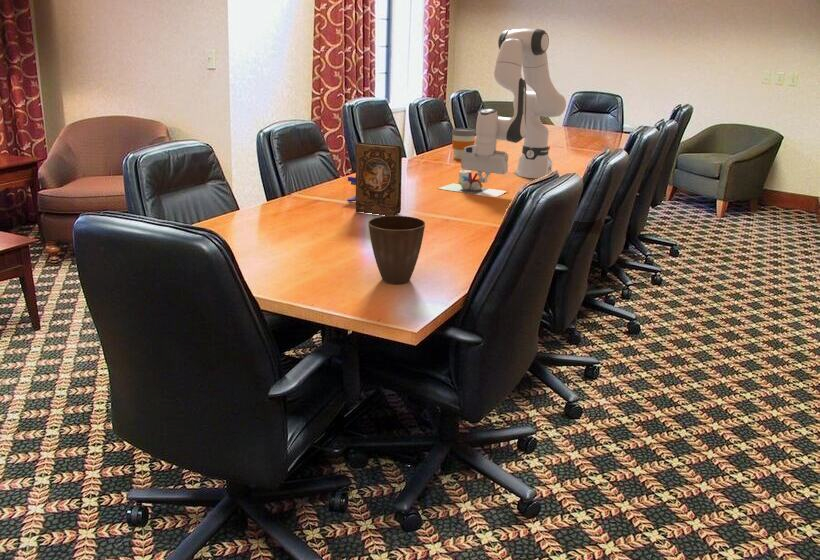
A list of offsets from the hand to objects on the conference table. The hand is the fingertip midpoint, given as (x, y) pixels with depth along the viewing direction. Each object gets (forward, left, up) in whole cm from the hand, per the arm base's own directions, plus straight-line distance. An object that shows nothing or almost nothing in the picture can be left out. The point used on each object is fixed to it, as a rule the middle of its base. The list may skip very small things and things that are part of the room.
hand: (483, 182), depth 293 cm
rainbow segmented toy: (0, -6, -4) cm, 7 cm away
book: (+58, -15, -4) cm, 60 cm away
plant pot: (+115, +29, -4) cm, 119 cm away
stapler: (+35, -32, -5) cm, 48 cm away
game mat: (0, -5, -4) cm, 6 cm away
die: (-13, -15, -4) cm, 20 cm away
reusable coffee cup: (-71, -46, -4) cm, 85 cm away
